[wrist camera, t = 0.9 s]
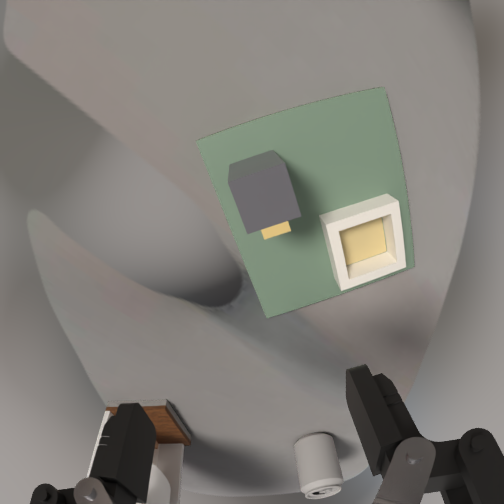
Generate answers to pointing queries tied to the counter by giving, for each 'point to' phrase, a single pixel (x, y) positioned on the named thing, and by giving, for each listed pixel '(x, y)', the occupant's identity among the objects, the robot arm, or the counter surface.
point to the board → (322, 199)
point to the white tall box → (159, 449)
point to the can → (318, 466)
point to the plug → (263, 194)
